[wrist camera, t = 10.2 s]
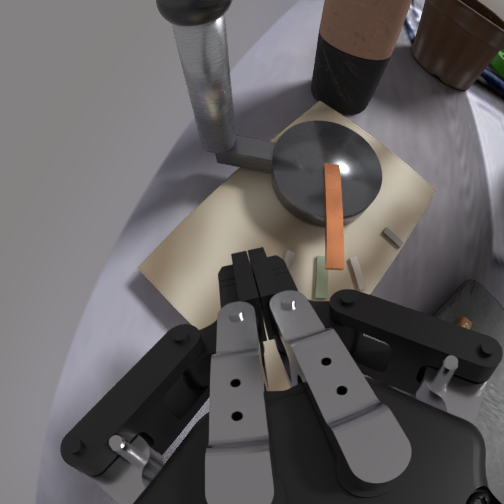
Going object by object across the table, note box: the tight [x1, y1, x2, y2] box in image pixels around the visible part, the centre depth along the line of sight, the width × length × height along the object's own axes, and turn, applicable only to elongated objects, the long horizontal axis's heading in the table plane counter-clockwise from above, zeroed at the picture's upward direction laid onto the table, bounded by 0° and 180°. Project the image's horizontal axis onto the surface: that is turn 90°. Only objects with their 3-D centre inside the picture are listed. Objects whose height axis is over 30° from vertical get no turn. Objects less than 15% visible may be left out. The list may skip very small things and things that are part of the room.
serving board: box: [387, 279, 504, 504], centre depth 15 cm, size 39×23×6 cm, turn 54°
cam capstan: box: [156, 0, 382, 271], centre depth 15 cm, size 13×15×17 cm
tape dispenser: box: [490, 49, 504, 78], centre depth 35 cm, size 15×7×5 cm, turn 154°
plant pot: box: [412, 0, 504, 90], centre depth 25 cm, size 16×16×16 cm
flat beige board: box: [138, 101, 436, 391], centre depth 23 cm, size 15×24×2 cm, turn 138°
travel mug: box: [311, 0, 412, 114], centre depth 20 cm, size 8×8×20 cm
